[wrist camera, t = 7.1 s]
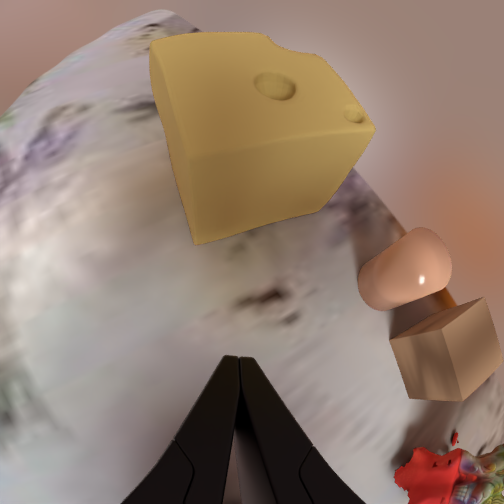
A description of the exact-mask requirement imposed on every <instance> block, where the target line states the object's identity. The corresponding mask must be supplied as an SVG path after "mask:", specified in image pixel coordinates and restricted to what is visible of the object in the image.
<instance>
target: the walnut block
mask: <svg viewBox="0 0 504 504" xmlns="http://www.w3.org/2000/svg"><path fill="white" fill-rule="evenodd" d="M389 341H390V344H391V347H392V349H393V352H394V355H395V358H396V361H397V364H398V366H399V369H400V372H401V375H402V378H403V381H404V384H405V387H406V390H407V394H408V397H409V398H410V399H423V400H438V401H462V402H463V401H464V400H465V399H466V398H467V397H468V396H469V395H471V394H472V393H473V392H474V391H475V390H476V389H477V388H478V387H479V386H480V385H481V384H482V383H483V382H484V381H485V380H486V379H487V378H488V377H489V376H490V375H491V374H492V373H493V372H494V371H495V370H496V369H497V368H498V367H499V365H500V364H501V363H502V362H503V357H502V353H501V349H500V346H499V342H498V338H497V335H496V331H495V328H494V324H493V321H492V318H491V315H490V312H489V309H488V306H487V303H486V300H485V297H482V298H479V299H476V300H473V301H471V302H468V303H465V304H462V305H459V306H456V307H453V308H450V309H447V310H444V311H441V312H438V313H434V314H432V315H431V316H429V317H427V318H426V319H424V320H423V321H421V322H419V323H418V324H416V325H414V326H413V327H411V328H409V329H408V330H406V331H404V332H403V333H401V334H399V335H397V336H396V337H394V338H392V339H390V340H389Z"/></svg>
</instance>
